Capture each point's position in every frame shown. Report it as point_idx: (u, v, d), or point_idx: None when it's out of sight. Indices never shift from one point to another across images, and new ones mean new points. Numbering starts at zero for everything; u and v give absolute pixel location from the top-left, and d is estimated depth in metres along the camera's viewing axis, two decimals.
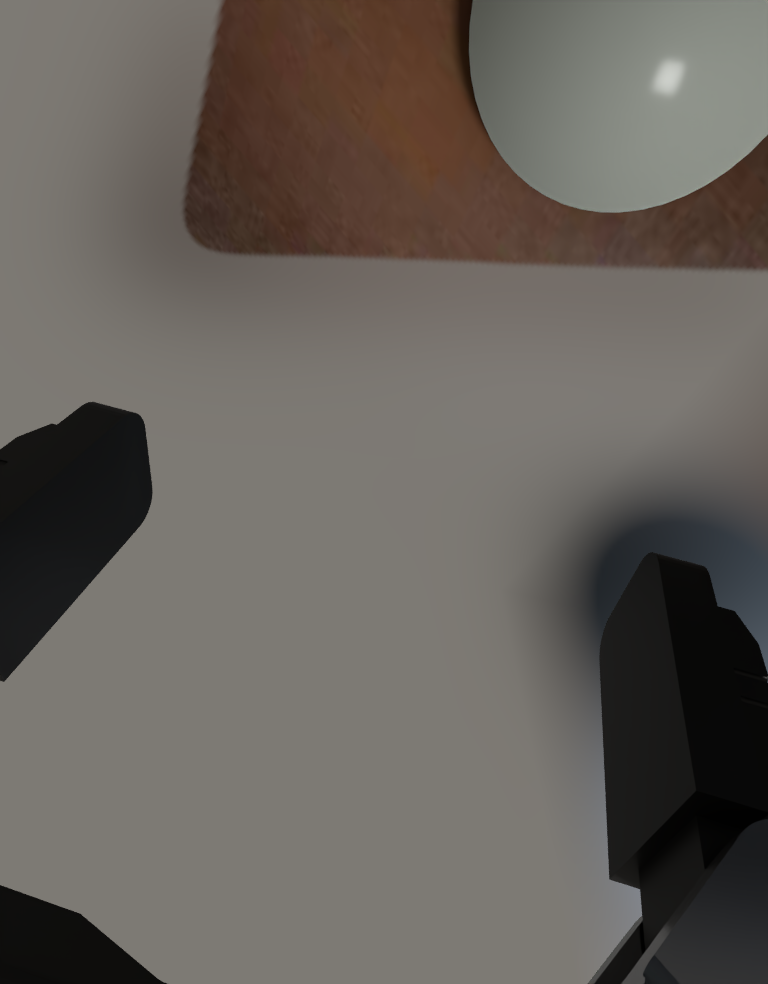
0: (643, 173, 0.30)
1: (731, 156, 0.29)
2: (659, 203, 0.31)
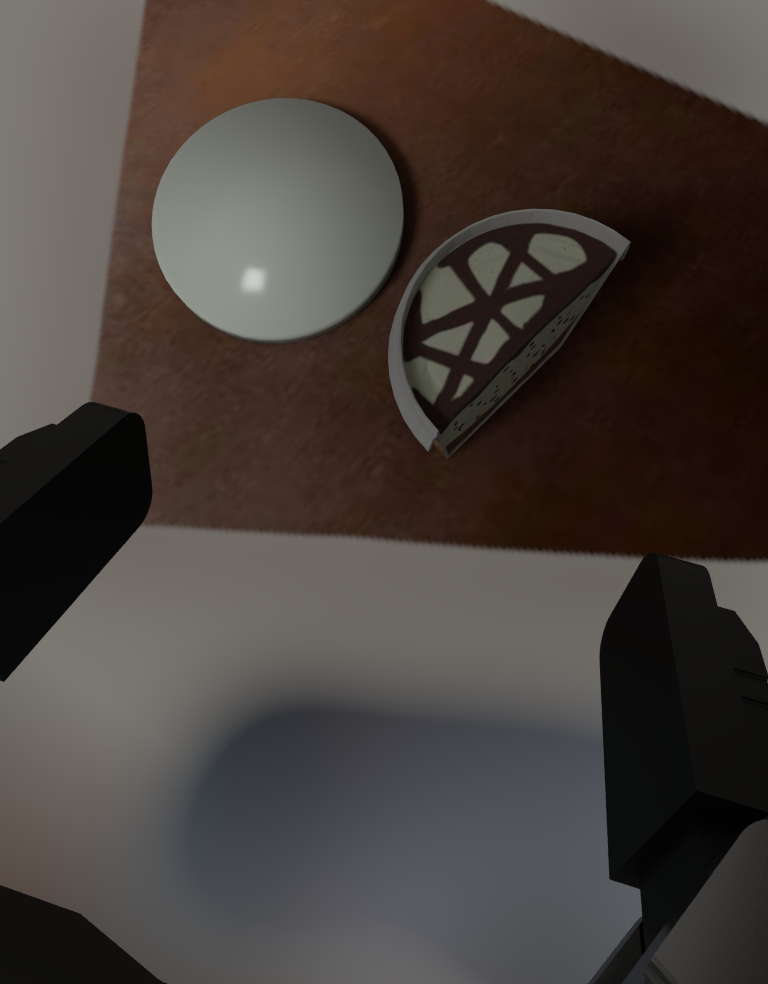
0: (179, 231, 0.36)
1: (183, 291, 0.36)
2: (155, 246, 0.36)
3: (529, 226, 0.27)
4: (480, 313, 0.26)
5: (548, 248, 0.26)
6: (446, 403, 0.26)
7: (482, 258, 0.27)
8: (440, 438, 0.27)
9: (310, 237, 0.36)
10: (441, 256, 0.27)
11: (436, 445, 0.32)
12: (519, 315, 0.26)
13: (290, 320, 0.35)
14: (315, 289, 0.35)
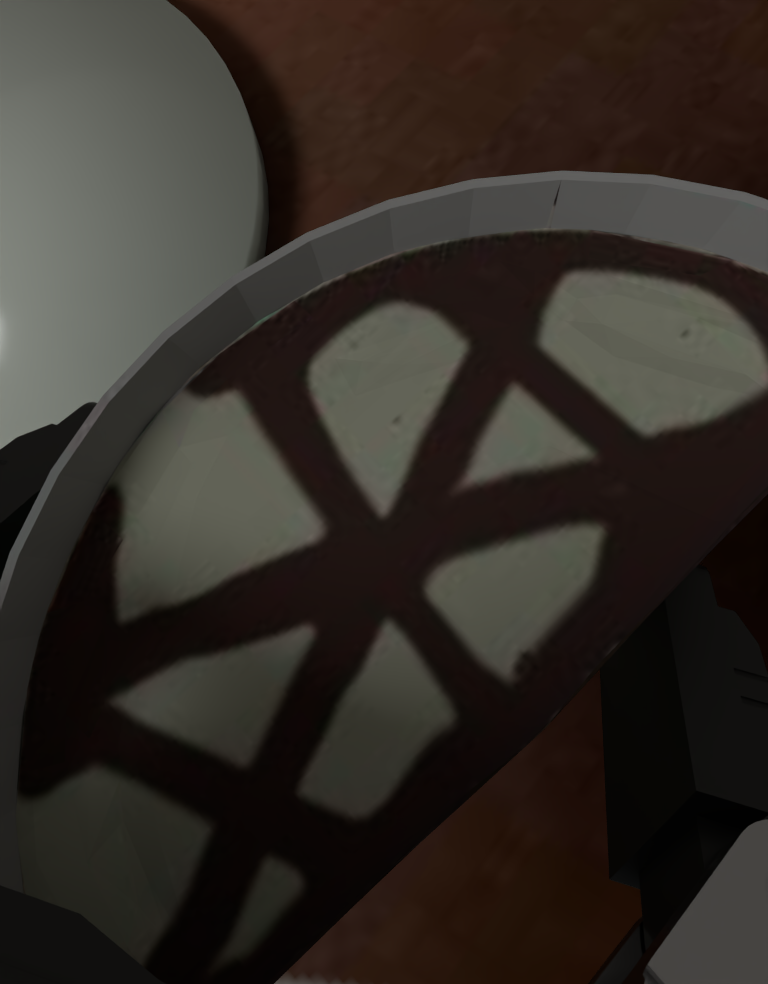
0: None
1: None
2: None
3: (545, 240, 0.07)
4: (344, 592, 0.07)
5: (619, 330, 0.07)
6: None
7: (365, 364, 0.07)
8: None
9: (51, 254, 0.16)
10: (200, 355, 0.07)
11: None
12: (499, 618, 0.06)
13: None
14: (55, 371, 0.16)
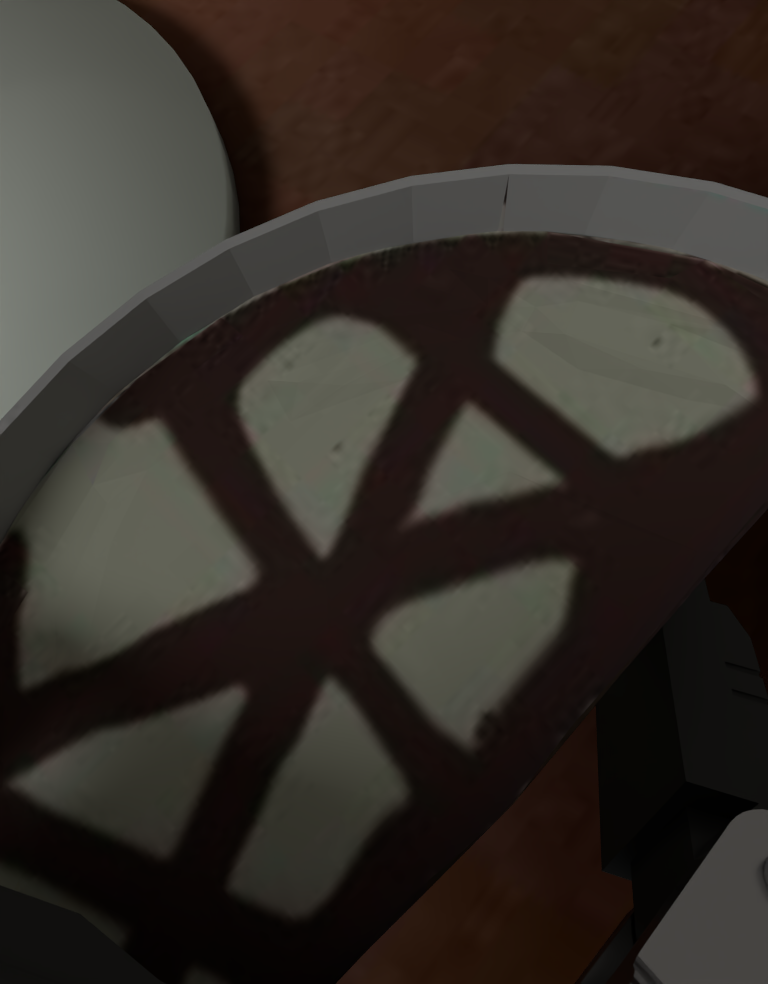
0: None
1: None
2: None
3: (499, 244, 0.06)
4: (279, 646, 0.06)
5: (583, 341, 0.06)
6: None
7: (302, 386, 0.06)
8: None
9: (9, 277, 0.15)
10: (114, 381, 0.06)
11: None
12: (456, 673, 0.05)
13: None
14: (12, 402, 0.15)
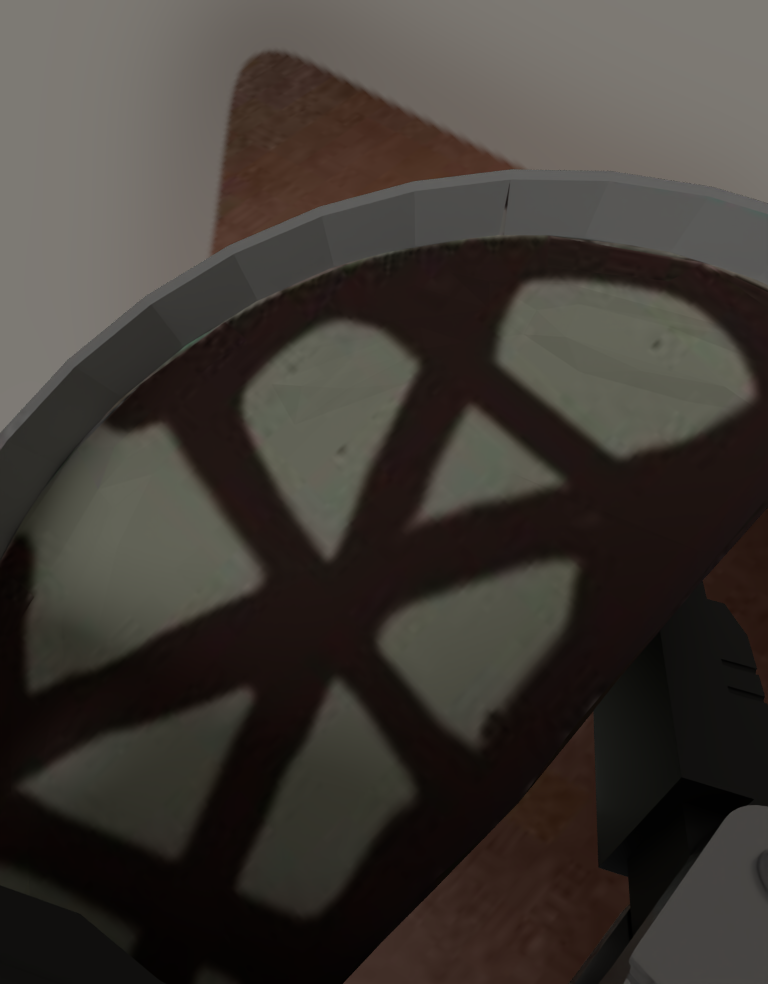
0: None
1: None
2: None
3: (500, 249, 0.06)
4: (285, 648, 0.06)
5: (584, 343, 0.06)
6: None
7: (305, 389, 0.06)
8: None
9: None
10: (119, 386, 0.06)
11: None
12: (463, 672, 0.05)
13: None
14: None
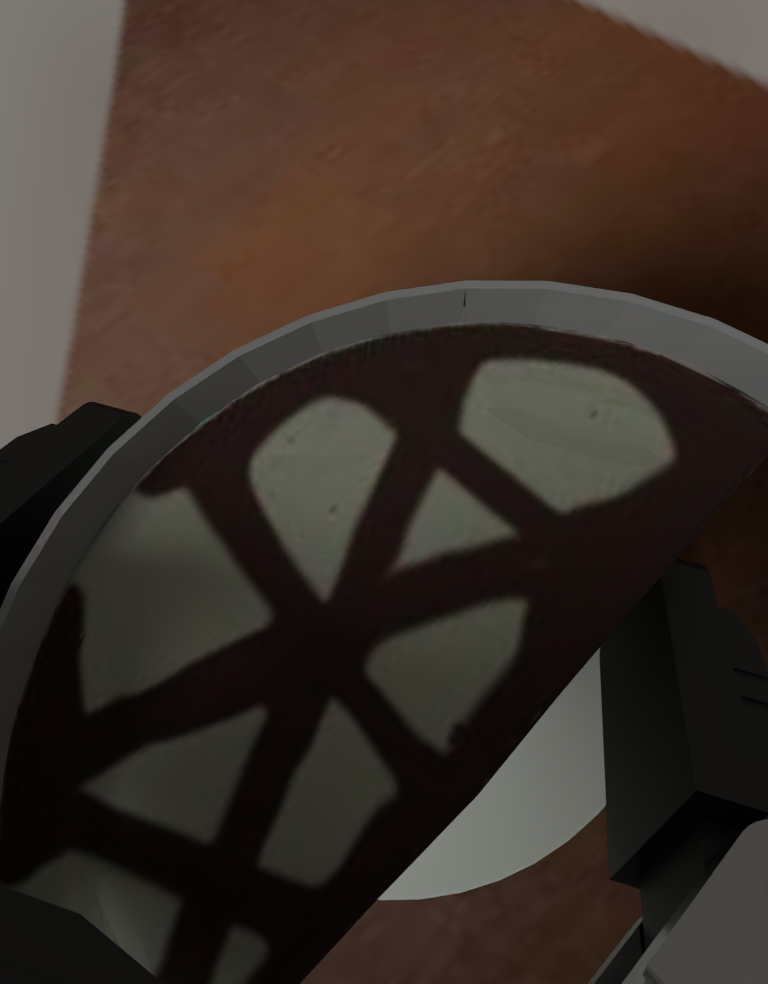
0: None
1: None
2: None
3: (461, 334, 0.07)
4: (292, 674, 0.07)
5: (533, 414, 0.07)
6: None
7: (301, 457, 0.07)
8: None
9: None
10: (147, 460, 0.07)
11: None
12: (434, 692, 0.07)
13: (422, 862, 0.15)
14: None
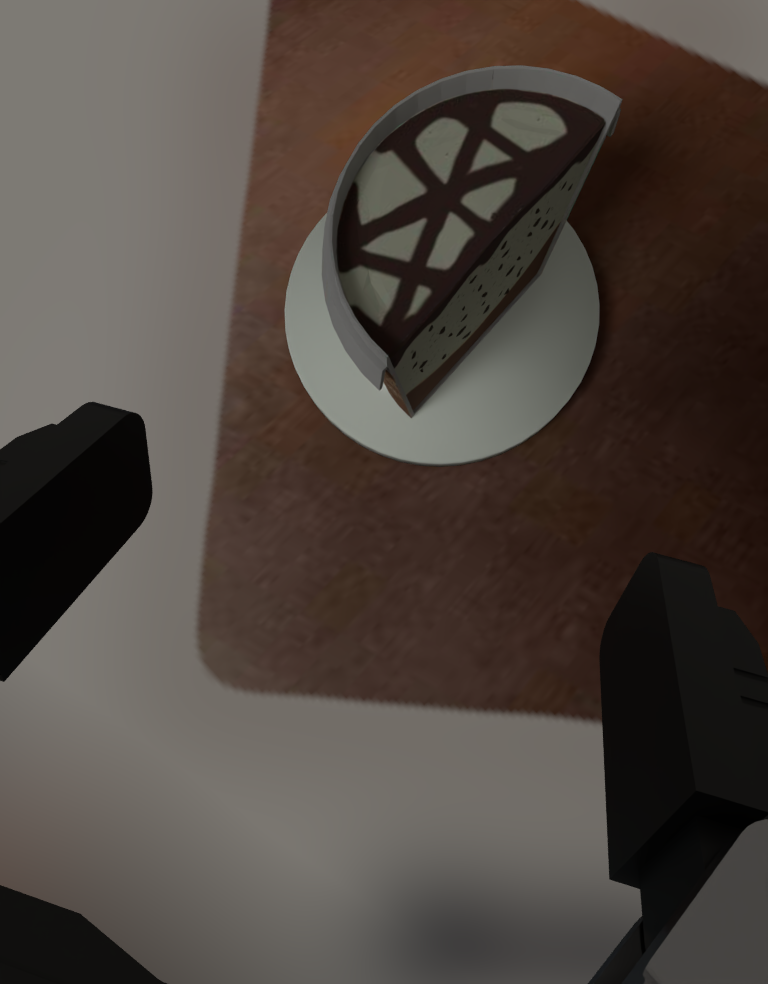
0: (319, 326, 0.30)
1: (326, 402, 0.29)
2: (289, 345, 0.30)
3: (491, 93, 0.21)
4: (435, 207, 0.20)
5: (517, 120, 0.21)
6: (397, 323, 0.20)
7: (434, 138, 0.21)
8: (394, 373, 0.21)
9: (484, 338, 0.29)
10: (380, 137, 0.20)
11: (395, 396, 0.26)
12: (485, 205, 0.20)
13: (462, 442, 0.28)
14: (493, 403, 0.29)
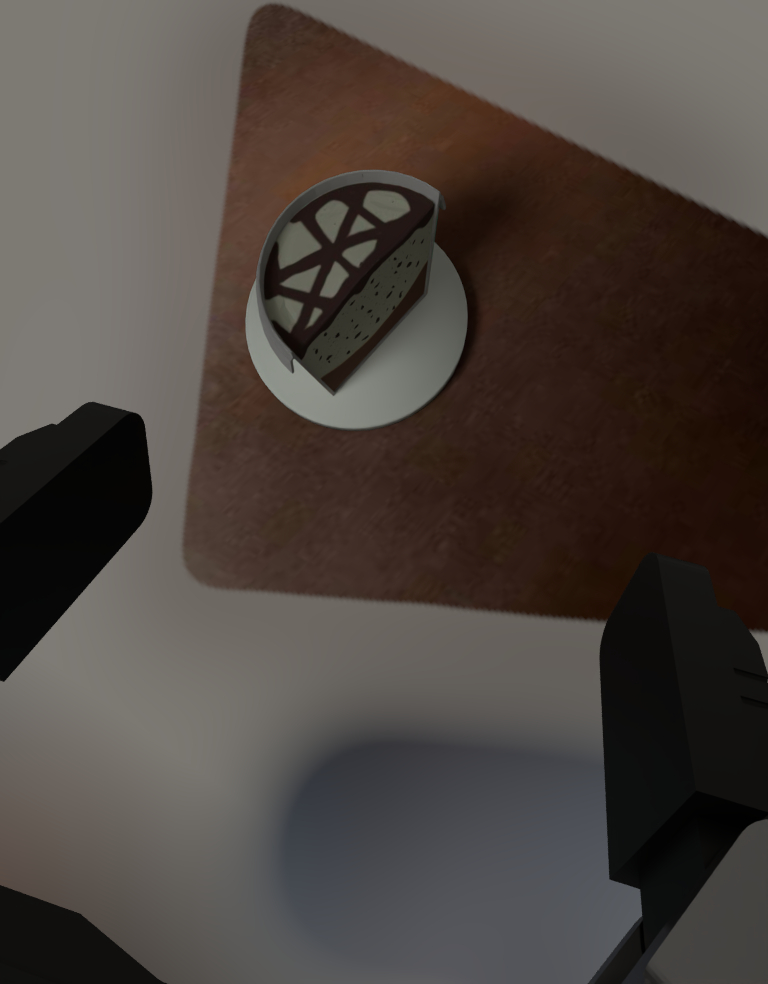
0: None
1: (274, 385, 0.41)
2: (248, 344, 0.42)
3: (363, 185, 0.33)
4: (326, 257, 0.32)
5: (379, 202, 0.32)
6: (300, 331, 0.32)
7: (327, 213, 0.33)
8: (301, 362, 0.33)
9: None
10: (292, 213, 0.32)
11: None
12: (356, 257, 0.32)
13: (368, 413, 0.40)
14: (390, 385, 0.41)
